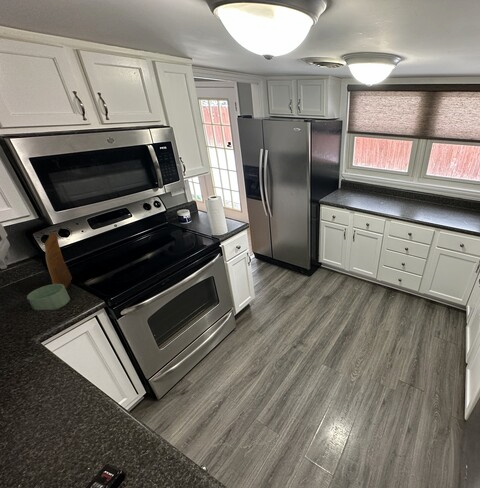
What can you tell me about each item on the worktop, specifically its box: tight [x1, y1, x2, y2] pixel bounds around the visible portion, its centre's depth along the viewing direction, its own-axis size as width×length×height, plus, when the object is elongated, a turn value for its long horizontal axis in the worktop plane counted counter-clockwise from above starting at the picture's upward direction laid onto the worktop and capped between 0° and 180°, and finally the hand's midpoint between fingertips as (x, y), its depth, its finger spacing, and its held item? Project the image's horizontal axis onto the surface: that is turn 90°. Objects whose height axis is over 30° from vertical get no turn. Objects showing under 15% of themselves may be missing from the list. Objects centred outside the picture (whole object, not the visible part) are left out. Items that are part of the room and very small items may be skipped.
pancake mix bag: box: [43, 231, 73, 290], centre depth 136 cm, size 7×19×28 cm, turn 26°
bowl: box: [26, 283, 71, 311], centre depth 125 cm, size 13×13×8 cm
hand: (6, 263), depth 115 cm, fingers open, 8 cm apart
